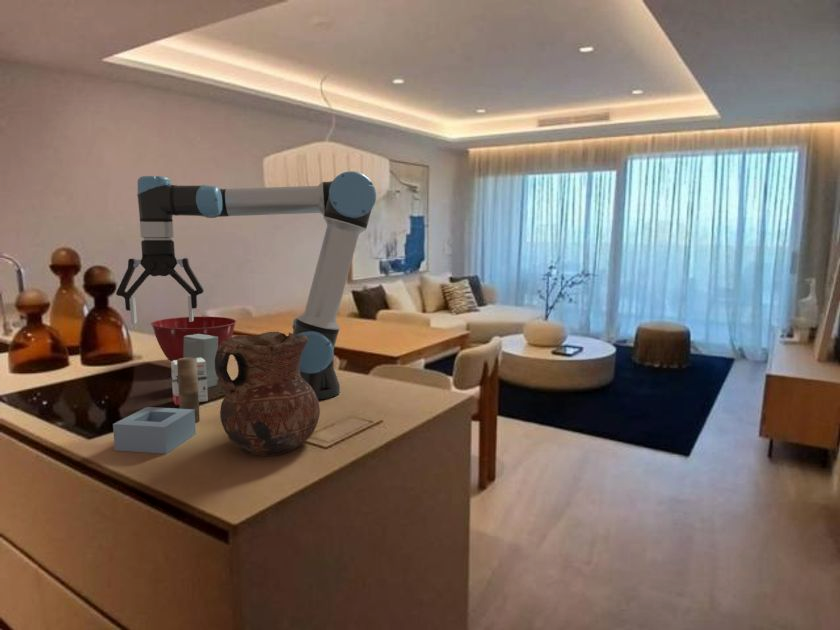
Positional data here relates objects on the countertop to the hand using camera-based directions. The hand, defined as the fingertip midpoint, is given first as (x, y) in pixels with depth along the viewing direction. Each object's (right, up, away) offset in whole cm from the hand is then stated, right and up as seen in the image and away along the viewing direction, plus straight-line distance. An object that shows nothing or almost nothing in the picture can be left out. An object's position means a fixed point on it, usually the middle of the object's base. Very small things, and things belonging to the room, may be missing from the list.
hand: (163, 322), depth 141 cm
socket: (+7, -27, -17) cm, 33 cm away
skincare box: (-1, -20, +29) cm, 35 cm away
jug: (+33, -28, -18) cm, 47 cm away
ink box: (+2, -23, +13) cm, 26 cm away
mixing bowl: (-15, -16, +58) cm, 62 cm away
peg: (+8, -25, -3) cm, 27 cm away
